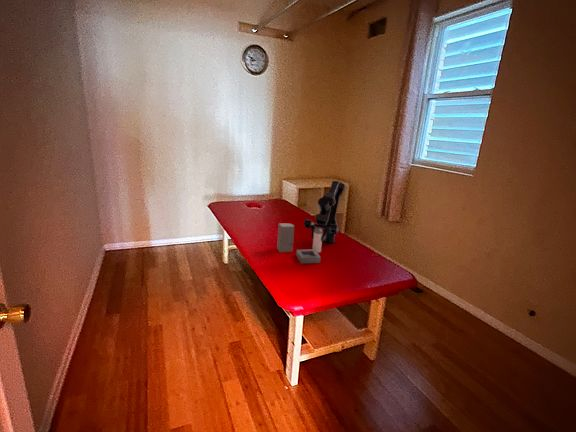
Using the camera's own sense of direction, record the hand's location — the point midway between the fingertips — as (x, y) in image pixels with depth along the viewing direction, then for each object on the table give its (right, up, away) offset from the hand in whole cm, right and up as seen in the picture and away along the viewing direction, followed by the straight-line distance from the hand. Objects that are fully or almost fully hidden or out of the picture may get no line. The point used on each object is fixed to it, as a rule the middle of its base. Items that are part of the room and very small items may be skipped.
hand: (316, 239), depth 172 cm
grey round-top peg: (0, -6, +3) cm, 7 cm away
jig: (-5, -11, +6) cm, 13 cm away
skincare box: (-18, -7, +16) cm, 25 cm away
